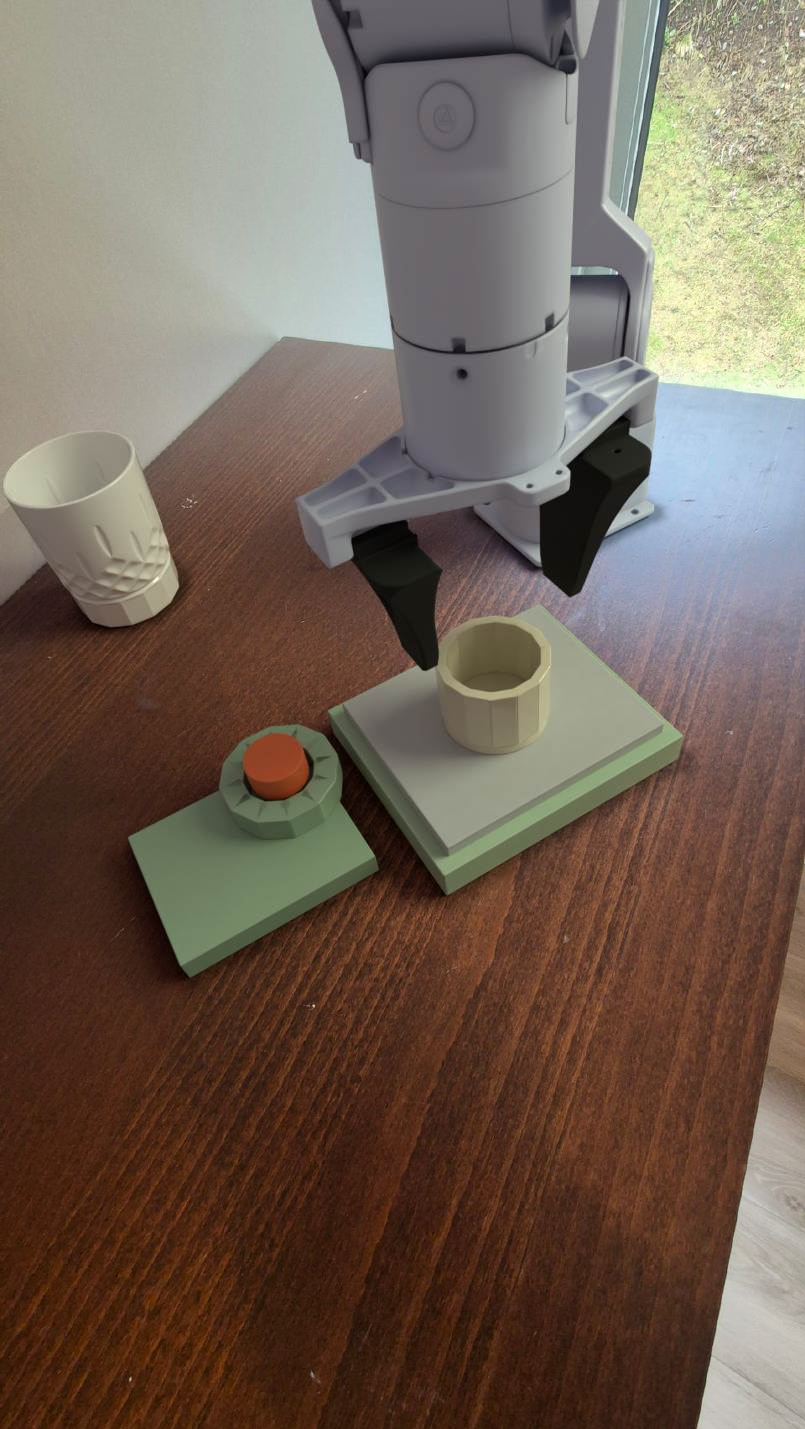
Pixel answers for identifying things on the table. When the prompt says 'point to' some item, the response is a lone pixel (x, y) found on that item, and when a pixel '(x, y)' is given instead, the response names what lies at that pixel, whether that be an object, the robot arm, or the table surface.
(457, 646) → the beige cup
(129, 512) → the white cup
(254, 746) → the button
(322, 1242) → the table surface
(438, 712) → the scale
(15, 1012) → the table surface
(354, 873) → the block
